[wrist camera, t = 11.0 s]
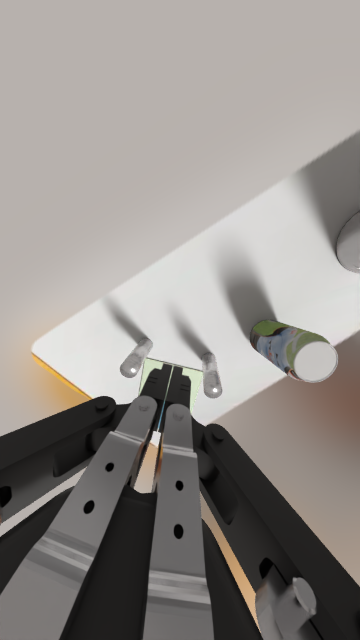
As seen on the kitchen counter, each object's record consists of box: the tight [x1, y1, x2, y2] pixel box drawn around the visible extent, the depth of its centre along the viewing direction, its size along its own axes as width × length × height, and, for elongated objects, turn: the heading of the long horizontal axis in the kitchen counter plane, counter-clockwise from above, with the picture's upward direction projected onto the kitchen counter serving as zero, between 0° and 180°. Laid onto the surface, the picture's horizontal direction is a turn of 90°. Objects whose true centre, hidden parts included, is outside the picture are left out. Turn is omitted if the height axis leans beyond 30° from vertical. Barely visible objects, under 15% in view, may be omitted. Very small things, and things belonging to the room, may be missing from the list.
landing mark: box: [139, 358, 203, 413], centre depth 36 cm, size 12×12×1 cm
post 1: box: [120, 338, 153, 378], centre depth 29 cm, size 3×3×9 cm
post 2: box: [202, 353, 222, 398], centre depth 29 cm, size 3×3×9 cm
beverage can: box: [250, 320, 338, 382], centre depth 24 cm, size 6×7×12 cm
